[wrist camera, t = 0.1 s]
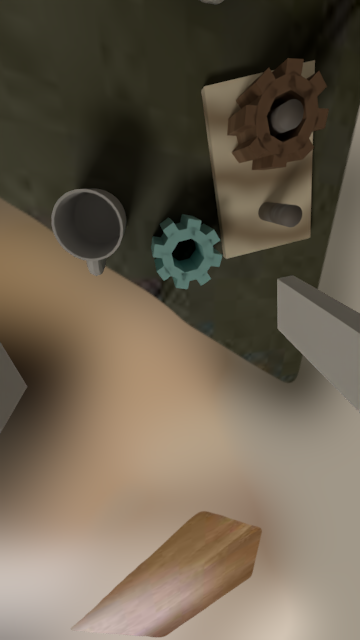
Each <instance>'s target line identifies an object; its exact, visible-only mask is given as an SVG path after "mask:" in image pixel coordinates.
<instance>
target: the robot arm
mask: <svg viewBox="0 0 360 640" xmlns="http://www.w3.org/2000/svg"><path fill="white" fill-rule="evenodd" d="M277 300H278V329H279V331H280V332H281V333H282V334H283V335H284V336H285V337H286V338H287V339H288V340H289V341H290V342H291V343H292V344H293V345H294V346H295V347H296V348H297V349H298V350H299V351H300V352H301V353H302V354H303V355H304V356H305V357H306V358H307V359H308V360H309V361H310V362H311V363H312V364H313V365H314V366H315V367H316V368H317V369H318V370H319V372H321V374H322V375H323V376H324V377H325V378H326V379H327V380H328V381H329V382H330V383H331V384H332V385H333V386H334V387H335V388H336V389H337V390H338V391H339V392H340V393H341V394H342V395H343V396H344V397H345V398H346V399H347V400H348V401H349V402H350V403H351V404H352V405H353V406H354V407H355V408H356V409H357V411H359V413H360V313H358V312H356V311H354V310H353V309H351V308H349V307H347V306H346V305H344V304H342V303H340V302H339V301H337V300H335V299H333V298H331V297H330V296H328V295H326V294H325V293H323V292H321V291H319V290H318V289H316V288H314V287H312V286H311V285H309V284H307V283H305V282H304V281H302V280H300V279H298V278H297V277H295V276H288V277H284V278H279V279H277ZM26 388H27V385H26V384H25V382H24V381H23V379H22V377H21V376H20V374H19V372H18V371H17V369H16V367H15V366H14V364H13V363H12V361H11V359H10V358H9V356H8V354H7V353H6V351H5V349H4V348H3V346H2V345H1V343H0V433H1V431H2V429H3V427H4V426H5V424H6V422H7V421H8V419H9V417H10V415H11V414H12V412H13V410H14V408H15V407H16V405H17V403H18V402H19V400H20V398H21V396H22V394H23V393H24V391H25V389H26Z"/></svg>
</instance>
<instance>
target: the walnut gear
mask: <svg viewBox="0 0 360 640" xmlns="http://www.w3.org/2000/svg"><path fill="white" fill-rule="evenodd" d="M303 62H304V59H294V58H287V59H286V60H285V61H284V62H283V63H282V64H281V65H280V66H278V67H277V68H276V69H275V70H274V71H273V72H271V70H270V68H268V69H267V70H266V71H264V72H263V73H262V74H261V75H260V76H259V77H258V78H257V79H256V80H255V81H254V82H253V83H252V84H251V85H249V86H248V87H247V88H246V89H245V91H244V92H243V93H242V94H241V95H240V96H239V97H238V99H237V100H236V102H237V104H238V105H239V107H240V108H241V110H239V111H238V112H237V113H236V114H234V115H233V116H232V117H230V118H229V119H228V130H227V136H236V137H237V141H238V146H237V147H236V148H235V149H234V150H233V151H232V154H233V156H234V157H235V158H236V160H237V161H238V162H239V163H243V162H247V161H251V160H253V162H252V170H269V169H276V168H283V167H286V164H287V162H292V161H298V160H303V159H304V158H305V157H306V156H307V155H308V154H309V153H310V152H311V151H312V150H313V149H314V146H313V144H312V143H311V141H310V139H309V137H310V135H311V134H312V132H314V131H317V130H320V129H323V128H325V125H326V120H327V115H328V110H329V109H321V108H318V101H317V96H318V95H319V94H320V93H321V92H322V91H323V90H324V89H325V88H326V87H327V86H326V84H325V82H324V80H323V78H322V75H321V73H320V71H318V72H316V73H315V74H313V75H311V76H310V77H308V78H307V79H306V78H304V77H303V76H301V74H302V68H303ZM291 99H297V100H299V101H300V102H301V103H302V105H303V109H304V114H303V118H302V121H301V122H300V124H299V125H298V126H297V127H296V128H294V129H291V130H289V131H286V132H284V133H281V134H278V135H276V137H273V136H271V135H270V131H269V126H268V120H267V114H268V112H269V110H273V109H275V108H277V107H278V106H280V105H282V104H284V103H285V102H287V101H289V100H291Z"/></svg>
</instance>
